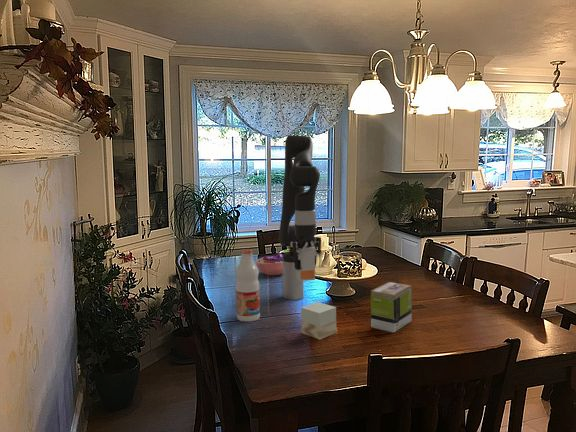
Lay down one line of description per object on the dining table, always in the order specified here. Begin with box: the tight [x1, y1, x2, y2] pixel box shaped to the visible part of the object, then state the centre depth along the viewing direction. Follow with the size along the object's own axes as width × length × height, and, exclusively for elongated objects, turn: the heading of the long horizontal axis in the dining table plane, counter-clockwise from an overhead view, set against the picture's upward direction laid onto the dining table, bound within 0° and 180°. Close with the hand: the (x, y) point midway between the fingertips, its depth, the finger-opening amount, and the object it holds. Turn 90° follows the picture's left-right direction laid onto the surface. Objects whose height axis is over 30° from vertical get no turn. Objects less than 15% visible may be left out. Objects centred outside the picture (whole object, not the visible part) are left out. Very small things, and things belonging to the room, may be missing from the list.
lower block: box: [301, 320, 337, 341], centre depth 178 cm, size 9×9×5 cm
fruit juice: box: [235, 248, 261, 323], centre depth 193 cm, size 9×9×28 cm
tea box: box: [370, 281, 413, 333], centre depth 184 cm, size 15×10×15 cm
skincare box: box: [296, 247, 316, 282], centre depth 174 cm, size 6×4×12 cm
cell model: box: [255, 252, 284, 276], centre depth 262 cm, size 17×20×11 cm
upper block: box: [300, 301, 337, 327], centre depth 177 cm, size 9×9×5 cm
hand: (305, 267), depth 175 cm, fingers closed on skincare box, 7 cm apart
